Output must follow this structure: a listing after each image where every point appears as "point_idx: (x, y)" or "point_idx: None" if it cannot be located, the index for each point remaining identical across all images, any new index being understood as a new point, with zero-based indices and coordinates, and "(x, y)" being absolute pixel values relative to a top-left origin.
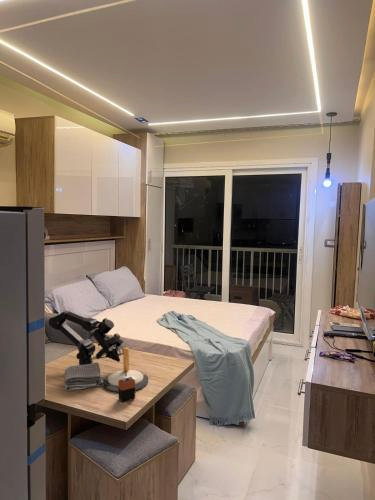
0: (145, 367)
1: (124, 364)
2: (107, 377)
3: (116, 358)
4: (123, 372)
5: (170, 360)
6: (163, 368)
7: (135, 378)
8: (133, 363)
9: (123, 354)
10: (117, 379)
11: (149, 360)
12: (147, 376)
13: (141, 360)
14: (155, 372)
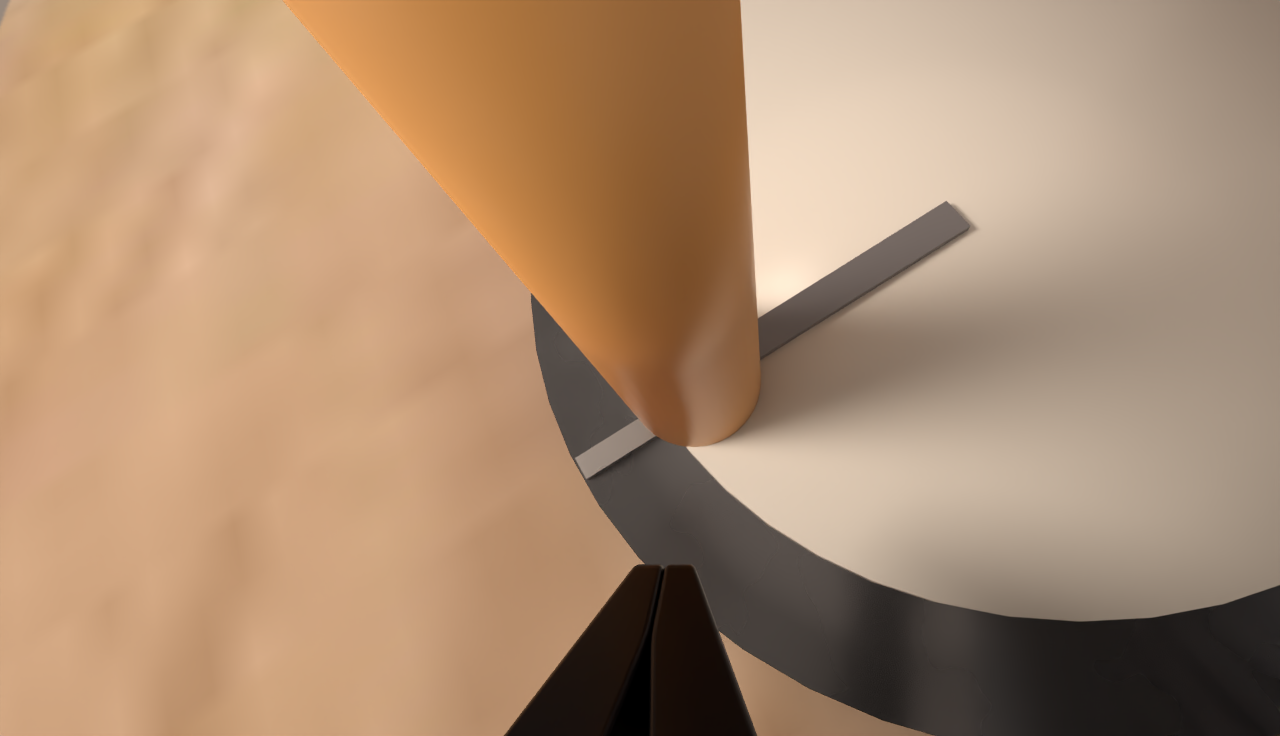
0: (286, 313)
1: (755, 321)
2: (1162, 673)
3: (741, 704)
4: (817, 376)
5: (4, 149)
6: (266, 79)
7: (935, 9)
8: (165, 613)
9: (704, 181)
10: (1229, 269)
11: (18, 412)
12: None
13: (25, 544)
14: None
